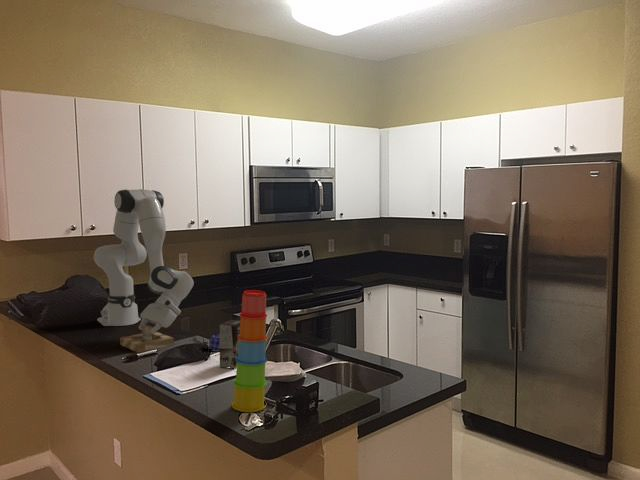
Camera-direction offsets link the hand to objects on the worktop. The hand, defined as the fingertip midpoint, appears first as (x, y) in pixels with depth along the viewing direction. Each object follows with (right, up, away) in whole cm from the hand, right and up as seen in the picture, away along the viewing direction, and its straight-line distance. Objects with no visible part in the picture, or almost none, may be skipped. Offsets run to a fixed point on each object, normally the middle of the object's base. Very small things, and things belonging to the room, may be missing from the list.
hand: (145, 330), depth 224 cm
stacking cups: (+52, -12, -65) cm, 84 cm away
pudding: (+31, -7, -3) cm, 32 cm away
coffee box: (+41, -9, -25) cm, 49 cm away
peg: (0, -6, +1) cm, 6 cm away
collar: (0, -6, +1) cm, 6 cm away
